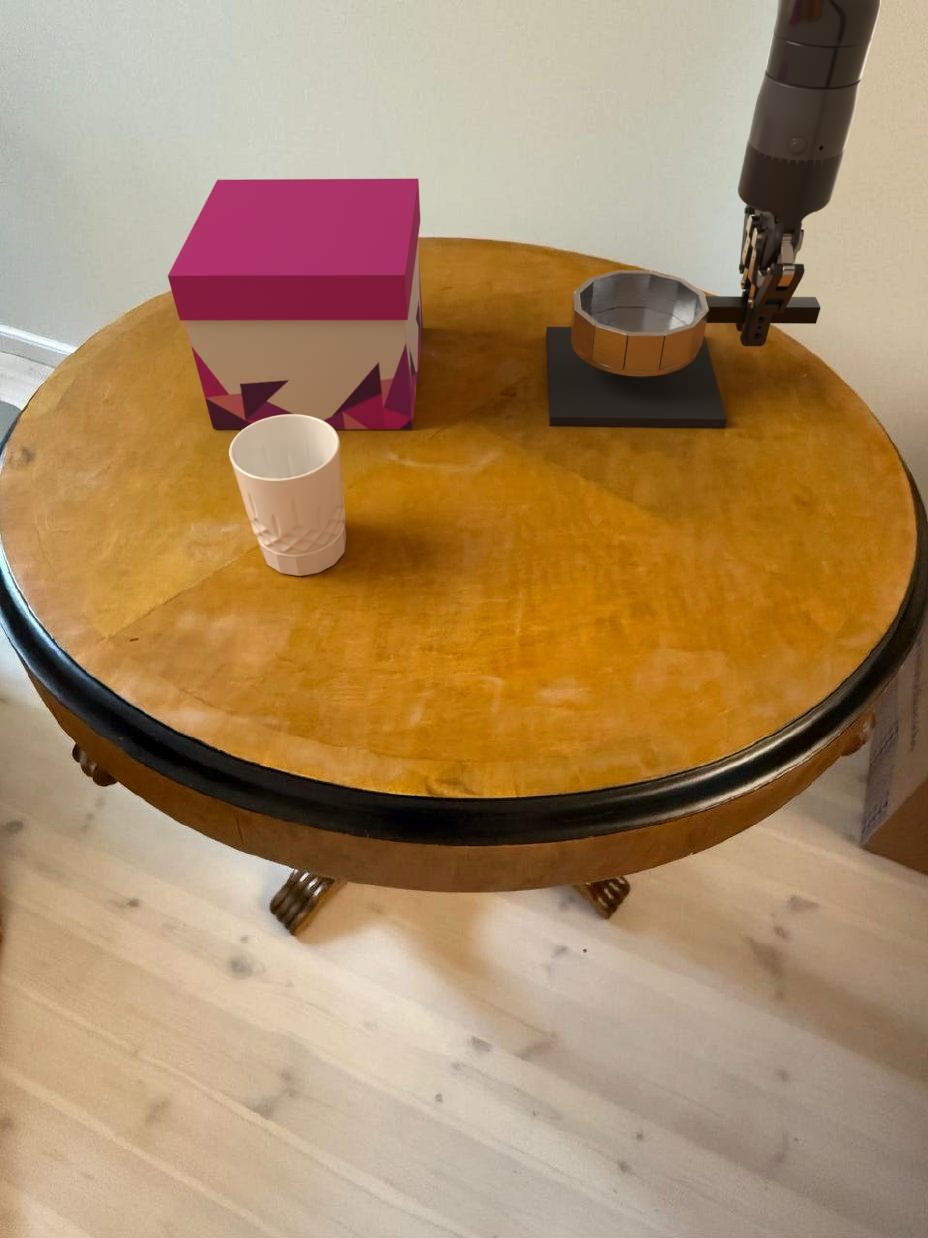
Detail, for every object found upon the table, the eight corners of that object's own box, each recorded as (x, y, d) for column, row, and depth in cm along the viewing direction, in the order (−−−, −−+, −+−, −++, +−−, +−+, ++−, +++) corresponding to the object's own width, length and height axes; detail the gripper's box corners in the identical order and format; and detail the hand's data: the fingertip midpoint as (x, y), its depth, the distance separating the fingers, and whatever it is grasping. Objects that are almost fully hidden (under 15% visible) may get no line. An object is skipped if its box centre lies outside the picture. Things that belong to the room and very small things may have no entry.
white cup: (320, 594, 68) (301, 492, 61) (235, 564, 71) (206, 462, 63) (371, 531, 73) (359, 429, 66) (289, 505, 75) (269, 403, 68)
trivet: (700, 336, 93) (702, 327, 92) (724, 428, 82) (727, 419, 81) (546, 335, 93) (546, 326, 93) (549, 425, 83) (550, 416, 82)
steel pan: (573, 376, 81) (576, 334, 78) (568, 309, 89) (571, 269, 86) (821, 378, 80) (834, 336, 77) (793, 310, 88) (804, 270, 85)
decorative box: (425, 325, 95) (418, 178, 84) (415, 432, 82) (404, 274, 71) (247, 325, 95) (217, 179, 84) (209, 431, 83) (167, 275, 72)
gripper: (868, 172, 66) (806, 378, 79) (824, 107, 76) (775, 300, 88) (765, 172, 66) (719, 377, 79) (735, 107, 76) (698, 299, 89)
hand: (749, 335), depth 84 cm, fingers closed on steel pan, 2 cm apart
